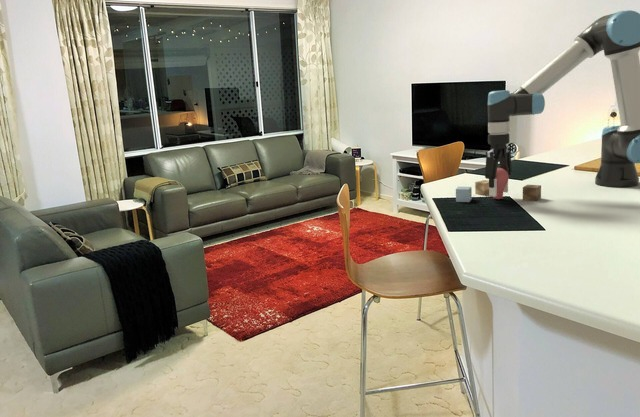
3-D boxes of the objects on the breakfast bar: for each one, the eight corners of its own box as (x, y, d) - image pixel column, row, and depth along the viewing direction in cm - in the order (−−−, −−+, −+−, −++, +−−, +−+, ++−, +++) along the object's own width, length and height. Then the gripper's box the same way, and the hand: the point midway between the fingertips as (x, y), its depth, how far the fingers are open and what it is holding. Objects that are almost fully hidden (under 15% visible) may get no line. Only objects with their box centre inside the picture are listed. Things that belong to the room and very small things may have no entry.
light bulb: (509, 197, 196) (509, 166, 193) (507, 201, 189) (507, 169, 187) (490, 197, 199) (489, 166, 196) (487, 201, 192) (487, 169, 190)
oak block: (493, 193, 204) (493, 181, 203) (484, 195, 202) (484, 183, 201) (484, 192, 209) (484, 180, 207) (475, 193, 207) (475, 181, 205)
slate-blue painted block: (471, 199, 198) (471, 186, 197) (469, 202, 194) (469, 189, 192) (458, 199, 200) (458, 186, 199) (456, 202, 196) (455, 189, 195)
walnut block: (540, 198, 190) (541, 185, 189) (536, 201, 187) (536, 188, 186) (527, 197, 194) (527, 184, 192) (522, 200, 190) (522, 187, 189)
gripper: (504, 130, 197) (504, 188, 203) (474, 136, 185) (474, 197, 190) (522, 130, 192) (521, 190, 197) (492, 136, 179) (492, 200, 185)
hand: (498, 193), depth 194 cm, fingers closed on light bulb, 7 cm apart
